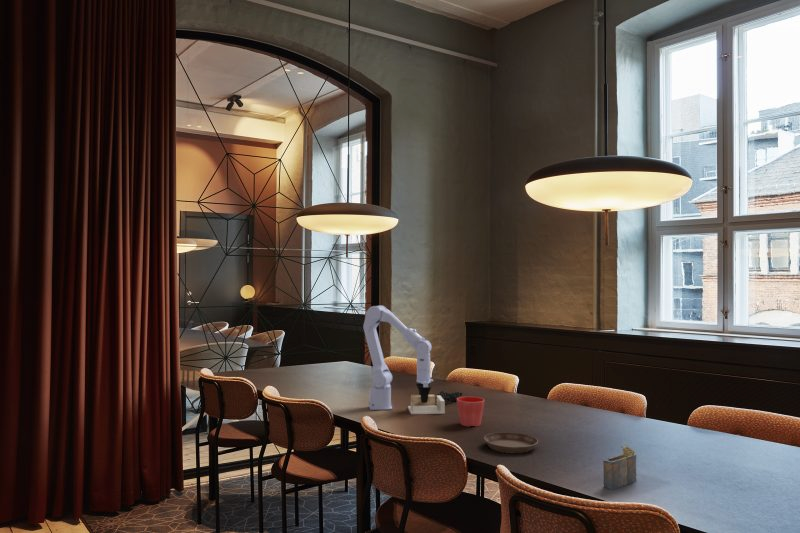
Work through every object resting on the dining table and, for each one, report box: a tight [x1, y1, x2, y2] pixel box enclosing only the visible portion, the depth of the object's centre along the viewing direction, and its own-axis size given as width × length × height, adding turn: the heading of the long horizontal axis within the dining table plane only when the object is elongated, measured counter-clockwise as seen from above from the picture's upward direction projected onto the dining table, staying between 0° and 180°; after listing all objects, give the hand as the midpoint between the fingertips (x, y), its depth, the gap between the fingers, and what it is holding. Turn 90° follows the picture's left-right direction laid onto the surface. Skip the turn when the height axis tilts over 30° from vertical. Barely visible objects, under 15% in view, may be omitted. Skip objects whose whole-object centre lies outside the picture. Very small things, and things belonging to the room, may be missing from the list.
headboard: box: [407, 394, 446, 415], centre depth 258 cm, size 14×12×5 cm
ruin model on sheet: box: [603, 445, 637, 490], centre depth 167 cm, size 11×3×10 cm, turn 127°
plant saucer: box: [483, 431, 539, 454], centre depth 203 cm, size 18×18×3 cm
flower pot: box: [456, 396, 485, 427], centre depth 235 cm, size 11×11×10 cm
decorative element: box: [435, 391, 463, 405], centre depth 273 cm, size 22×5×6 cm, turn 147°
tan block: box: [410, 394, 436, 409], centre depth 258 cm, size 10×4×5 cm, turn 95°
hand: (423, 401), depth 258 cm, fingers closed on tan block, 4 cm apart
